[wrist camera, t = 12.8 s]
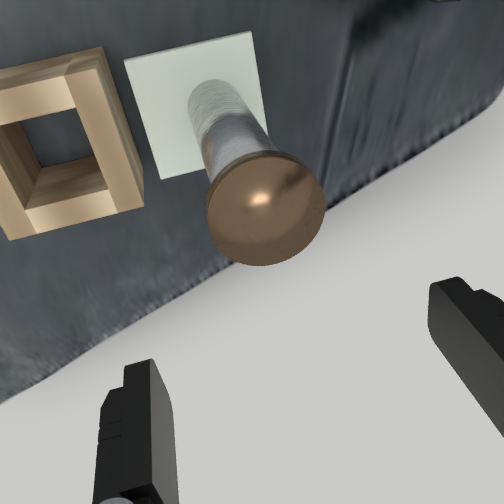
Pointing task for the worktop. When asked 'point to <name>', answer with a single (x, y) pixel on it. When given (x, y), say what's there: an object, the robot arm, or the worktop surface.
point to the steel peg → (251, 182)
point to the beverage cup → (442, 0)
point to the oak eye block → (74, 172)
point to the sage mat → (179, 90)
